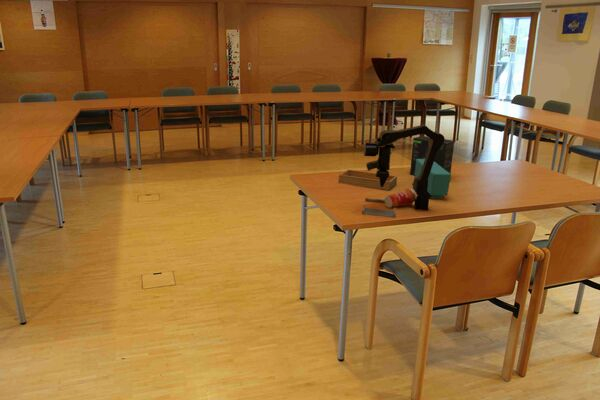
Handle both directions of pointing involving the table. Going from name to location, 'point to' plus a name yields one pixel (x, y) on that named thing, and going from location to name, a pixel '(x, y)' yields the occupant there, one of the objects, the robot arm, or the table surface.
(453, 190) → the table surface
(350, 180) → the tray
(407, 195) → the coffee cup
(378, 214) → the mat
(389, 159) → the robot arm
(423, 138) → the headset box
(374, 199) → the strip
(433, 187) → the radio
